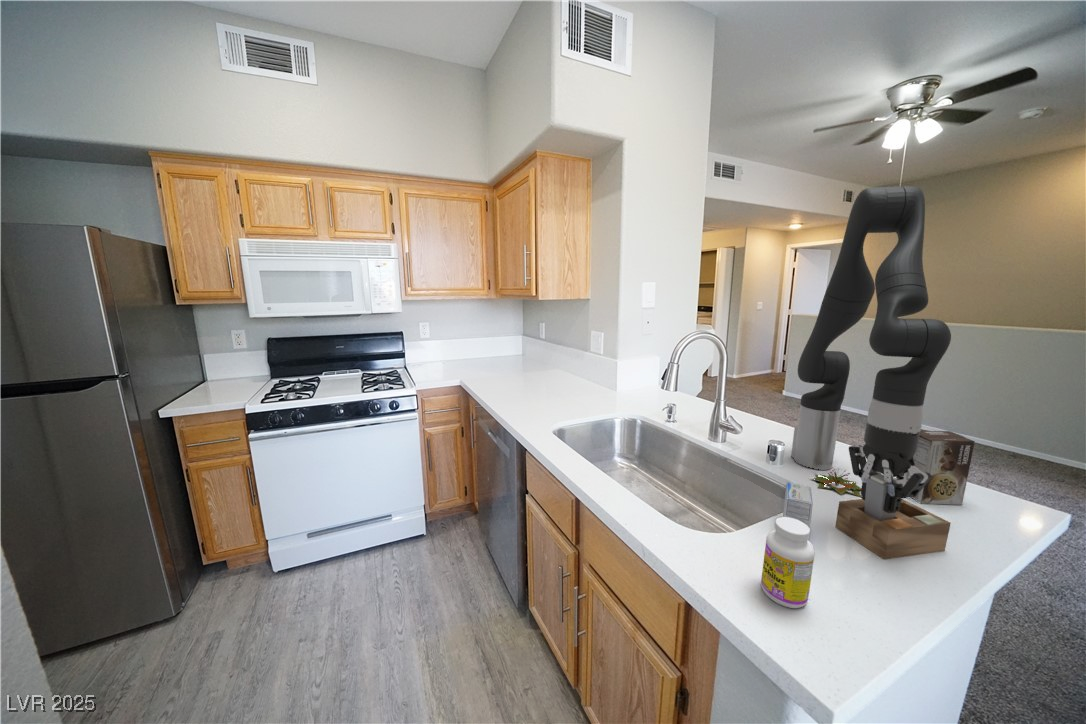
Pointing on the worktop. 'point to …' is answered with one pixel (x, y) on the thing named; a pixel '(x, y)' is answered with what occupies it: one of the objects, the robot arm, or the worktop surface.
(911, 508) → the socket block
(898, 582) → the worktop surface
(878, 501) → the plug
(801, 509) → the medicine box
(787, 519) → the supplement bottle
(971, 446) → the coffee box
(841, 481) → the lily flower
